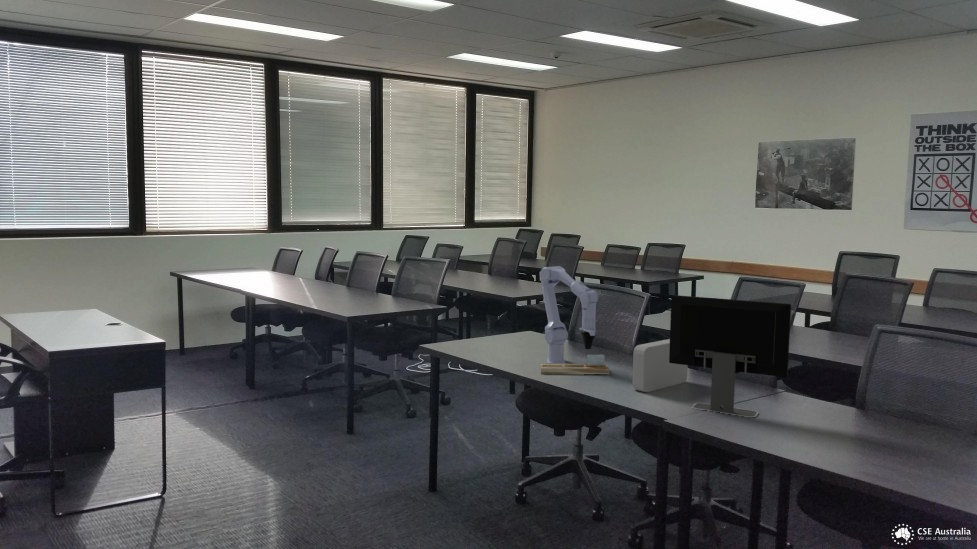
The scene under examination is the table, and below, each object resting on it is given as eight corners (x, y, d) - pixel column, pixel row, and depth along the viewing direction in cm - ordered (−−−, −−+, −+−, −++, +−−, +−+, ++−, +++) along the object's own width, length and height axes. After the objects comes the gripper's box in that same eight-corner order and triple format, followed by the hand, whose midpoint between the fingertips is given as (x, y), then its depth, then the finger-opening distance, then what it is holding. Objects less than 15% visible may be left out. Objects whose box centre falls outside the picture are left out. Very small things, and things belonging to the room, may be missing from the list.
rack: (540, 368, 323) (540, 362, 323) (606, 369, 322) (606, 363, 322) (540, 373, 314) (541, 367, 314) (609, 374, 313) (609, 368, 313)
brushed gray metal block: (587, 369, 319) (587, 354, 318) (602, 369, 320) (603, 354, 319) (588, 370, 316) (588, 356, 316) (604, 370, 317) (604, 355, 316)
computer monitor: (786, 416, 256) (792, 303, 251) (782, 422, 248) (788, 306, 244) (670, 399, 276) (674, 294, 272) (664, 404, 269) (667, 296, 265)
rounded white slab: (671, 378, 308) (673, 336, 306) (687, 382, 302) (688, 339, 300) (627, 389, 290) (628, 344, 288) (642, 393, 284) (644, 348, 282)
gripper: (575, 315, 325) (574, 345, 326) (584, 321, 310) (583, 352, 312) (591, 315, 326) (590, 345, 327) (600, 321, 311) (599, 352, 313)
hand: (587, 348), depth 320 cm, fingers closed
